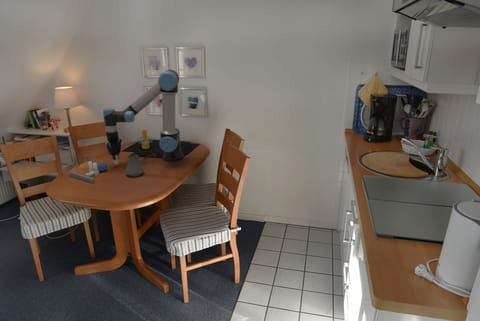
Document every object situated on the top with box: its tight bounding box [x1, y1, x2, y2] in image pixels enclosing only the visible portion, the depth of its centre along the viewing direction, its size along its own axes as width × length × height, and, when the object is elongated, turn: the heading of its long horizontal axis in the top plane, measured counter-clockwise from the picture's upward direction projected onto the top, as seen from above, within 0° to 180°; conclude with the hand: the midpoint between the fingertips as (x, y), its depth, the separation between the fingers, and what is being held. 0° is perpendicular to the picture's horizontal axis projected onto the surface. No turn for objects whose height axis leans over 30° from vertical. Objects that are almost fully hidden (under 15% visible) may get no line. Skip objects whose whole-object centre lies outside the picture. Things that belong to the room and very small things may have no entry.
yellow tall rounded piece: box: [137, 129, 154, 150], centre depth 274 cm, size 12×10×15 cm
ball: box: [97, 161, 108, 172], centre depth 227 cm, size 6×6×6 cm
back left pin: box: [92, 162, 99, 177], centre depth 219 cm, size 2×2×8 cm
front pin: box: [84, 170, 100, 177], centre depth 221 cm, size 2×2×8 cm
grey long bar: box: [68, 171, 96, 184], centre depth 215 cm, size 24×2×2 cm, turn 58°
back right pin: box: [87, 160, 94, 173], centre depth 222 cm, size 2×2×8 cm
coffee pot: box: [125, 153, 157, 177], centre depth 218 cm, size 21×12×15 cm, turn 82°
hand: (116, 163), depth 236 cm, fingers closed
